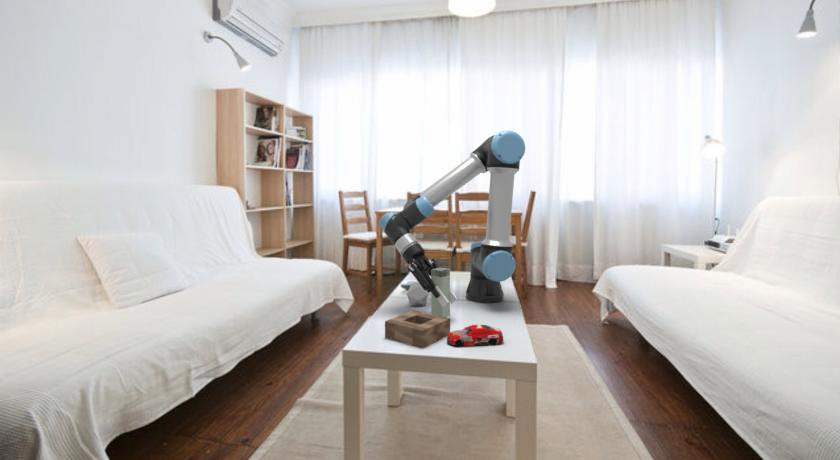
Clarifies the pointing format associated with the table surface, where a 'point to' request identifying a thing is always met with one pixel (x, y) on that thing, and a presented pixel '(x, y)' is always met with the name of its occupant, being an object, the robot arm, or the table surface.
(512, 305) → the table surface
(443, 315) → the pin
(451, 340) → the race car
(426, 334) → the collar block
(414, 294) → the die
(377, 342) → the table surface
